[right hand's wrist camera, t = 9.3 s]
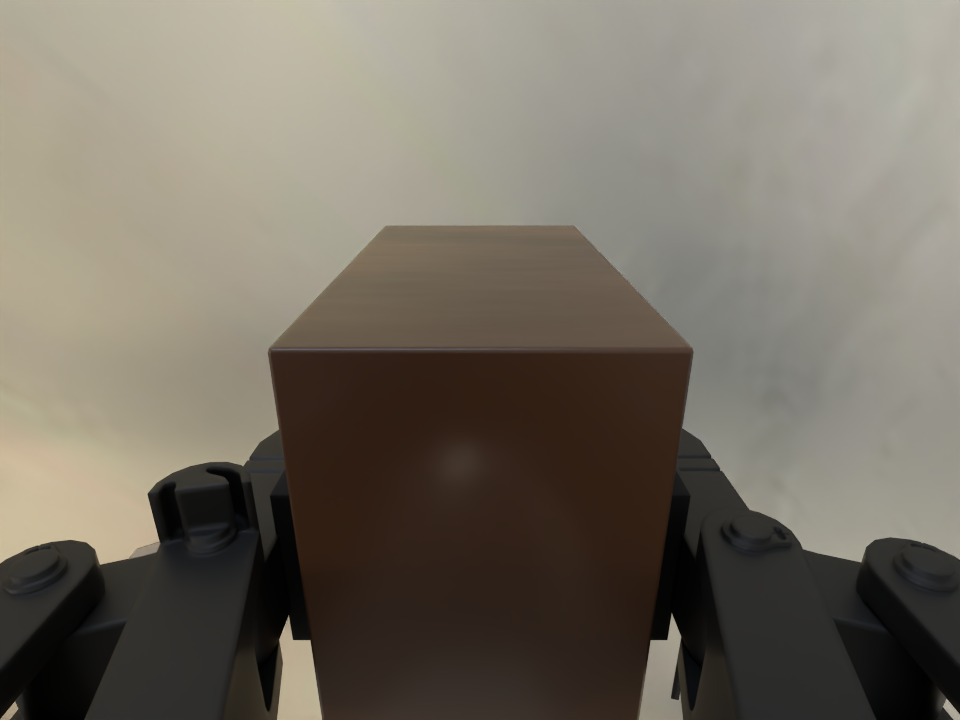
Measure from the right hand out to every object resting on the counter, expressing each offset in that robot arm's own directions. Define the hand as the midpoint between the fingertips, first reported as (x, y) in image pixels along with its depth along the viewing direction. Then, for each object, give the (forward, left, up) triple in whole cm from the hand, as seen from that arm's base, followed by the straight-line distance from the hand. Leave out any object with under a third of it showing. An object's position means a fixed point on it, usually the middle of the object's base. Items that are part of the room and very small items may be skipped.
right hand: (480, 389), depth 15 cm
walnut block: (0, -9, 0) cm, 9 cm away
